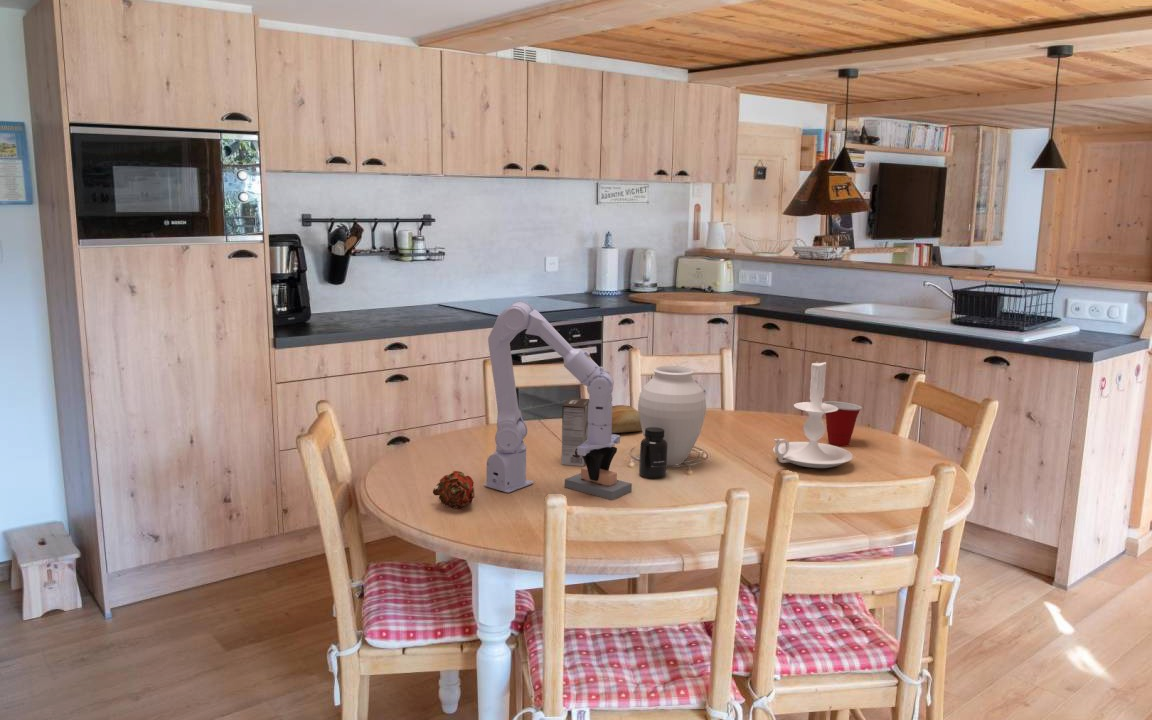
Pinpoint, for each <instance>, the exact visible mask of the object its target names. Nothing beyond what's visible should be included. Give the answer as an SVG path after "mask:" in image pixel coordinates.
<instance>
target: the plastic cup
mask: <svg viewBox="0 0 1152 720" xmlns="http://www.w3.org/2000/svg"><path fill="white" fill-rule="evenodd" d="M822 403H825V404H830V405H833V406H836V407H837V408H838V410H837V411H834V412H828V413H824V414H825V421H826V425H825V426H826V433H827V441H828V445H833V446H836V447H847V446H850V443H851V440H852V436H853V433H854V429H855V425H856V422H857V418H858V415H859V413H860V411H861V410H862V408H863V407H862V406H861V405H858V404H855V403H850V402H844V401H835V400H830V401H829V400H827V401H826V400H825V401H822Z"/></svg>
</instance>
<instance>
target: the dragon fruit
mask: <svg viewBox="0 0 1152 720" xmlns="http://www.w3.org/2000/svg"><path fill="white" fill-rule="evenodd" d="M474 484H475V483H474V479H472V477H471V476H469V475H465V474H464V472H462V471H459V470H454V471H452V473H449V474H445V475H444V476H442V477H441V478H440V479H439V482H438V483H437V484H436V487H437V488H433V489H432V494H433V496H438V499H439V501H440V503H441V504H443V505H444V506H445V507H451V508H453V509H456V510H457V509H458V510H460V509H461V508H463V507H465V506H466V505H468V504H469V505H470V504H471V503H472V502H473V499H474V498H475V487H474Z"/></svg>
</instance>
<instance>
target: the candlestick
mask: <svg viewBox="0 0 1152 720" xmlns="http://www.w3.org/2000/svg"><path fill="white" fill-rule="evenodd" d="M815 361H816V362H812V363H811V366H810V384H809V400H810V401H802V402H796V403H795V404H793V406H794V408H795V409H798V410H801V411H802V412H806V413H807V414H808V417H807V419H806V421H805V422H804V424H803V427H802V428H803V429H802V430H803V433H804V435H805V436H806V438H807V439H808V441H788V440H787V439H786V438H779V439H778V438H775V439H773V441H774V442H775V445H774V447H772V448H773V449H772V451H773V452H774V454H776V455H777V457H778V462H780V463H782V464H784V463H785V464H786V463H791V464H793V465H797V466H800V467H804V468H809V469H810V468H813V469H828V468H834V467H838V466H840V465H842V464H844V463H847V462H850V461H851V460H852V459H853V458H854V456H853V454H852V452H850V451H849V450H847V449H845V448H842V447H841V446H834V445H831V444H829V443H822V442H819V441H818V440H820V439H821V438H822V437H823V436H824V434H825V432H826V425H825V422H824V421H823V415H824V414H825V413H828V412H834V411H837V410H838V408H837V407H836V406H833V405H830V404H825V403H823V398H825V385H826V375H827V374H826V372H827V362H826V361H824V362H818V361H817V360H815Z"/></svg>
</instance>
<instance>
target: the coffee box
mask: <svg viewBox="0 0 1152 720" xmlns="http://www.w3.org/2000/svg"><path fill="white" fill-rule="evenodd" d="M588 403H589V398H578V397H577V398H575V397H569V398H568V399H567V400H566V401H565V402H564V403H563V405H562V407H561V408H562V410H561V411H562V413H561V416H562V417H561V465H564V466H565V465H566V466H577V467H586V463H585V461H584V459H583V457H582V455H578V454H577V447H578V446H580V445H582V444H583V443H584V442H585V441H586V440H587V432H588Z"/></svg>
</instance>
